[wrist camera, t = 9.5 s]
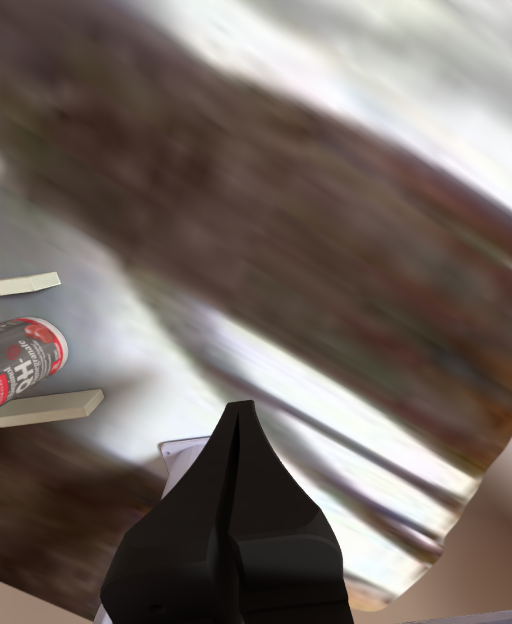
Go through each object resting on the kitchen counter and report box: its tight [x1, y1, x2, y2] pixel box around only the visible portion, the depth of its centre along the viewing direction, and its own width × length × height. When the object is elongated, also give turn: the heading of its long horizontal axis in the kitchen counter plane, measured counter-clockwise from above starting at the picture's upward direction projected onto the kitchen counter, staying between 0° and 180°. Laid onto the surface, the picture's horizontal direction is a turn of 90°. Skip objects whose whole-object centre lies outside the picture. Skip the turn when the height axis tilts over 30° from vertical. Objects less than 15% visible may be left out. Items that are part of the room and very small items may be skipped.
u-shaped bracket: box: [0, 272, 105, 428], centre depth 20 cm, size 12×11×2 cm
